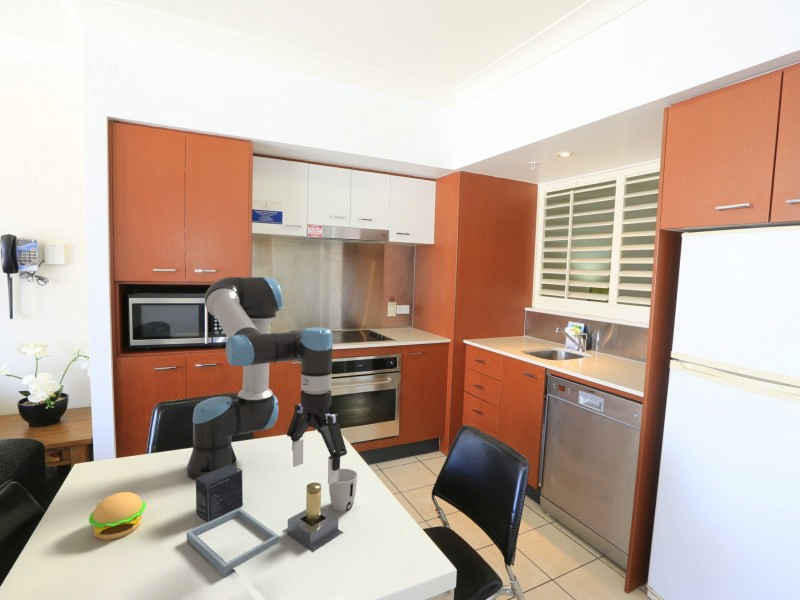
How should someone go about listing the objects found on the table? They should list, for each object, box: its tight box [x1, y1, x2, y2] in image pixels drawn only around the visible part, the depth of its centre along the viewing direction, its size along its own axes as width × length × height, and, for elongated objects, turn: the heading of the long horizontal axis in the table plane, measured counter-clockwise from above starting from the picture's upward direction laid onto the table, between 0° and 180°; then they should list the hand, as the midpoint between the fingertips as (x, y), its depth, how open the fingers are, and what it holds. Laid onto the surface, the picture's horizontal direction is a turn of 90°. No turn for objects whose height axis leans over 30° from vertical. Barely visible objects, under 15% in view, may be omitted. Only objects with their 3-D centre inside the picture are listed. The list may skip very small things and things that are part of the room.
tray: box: [186, 507, 280, 578], centre depth 100 cm, size 18×14×2 cm
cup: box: [328, 468, 358, 513], centre depth 116 cm, size 8×8×10 cm
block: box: [282, 507, 344, 553], centre depth 104 cm, size 12×10×4 cm
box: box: [195, 465, 244, 523], centre depth 114 cm, size 11×7×10 cm, turn 145°
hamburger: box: [88, 491, 147, 541], centre depth 104 cm, size 12×12×9 cm
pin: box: [305, 482, 322, 526], centre depth 104 cm, size 4×4×12 cm
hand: (314, 473), depth 103 cm, fingers open, 13 cm apart
